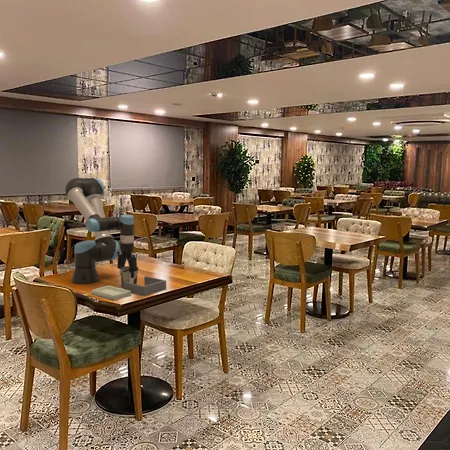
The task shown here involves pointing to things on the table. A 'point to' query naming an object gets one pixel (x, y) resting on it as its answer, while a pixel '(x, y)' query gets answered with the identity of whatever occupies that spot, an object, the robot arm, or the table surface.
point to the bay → (151, 286)
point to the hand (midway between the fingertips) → (127, 282)
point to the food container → (127, 274)
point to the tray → (111, 292)
